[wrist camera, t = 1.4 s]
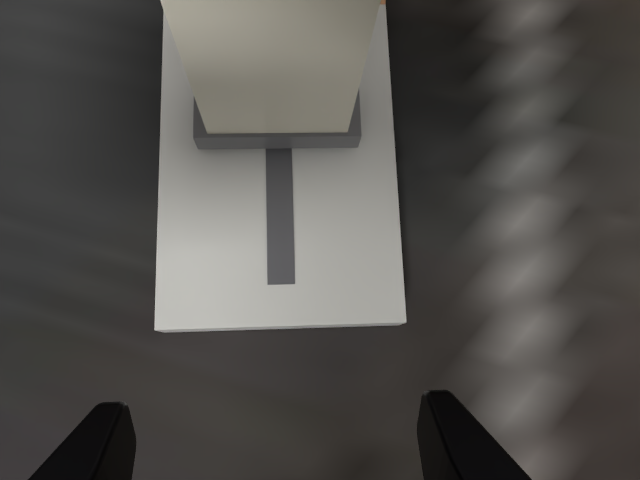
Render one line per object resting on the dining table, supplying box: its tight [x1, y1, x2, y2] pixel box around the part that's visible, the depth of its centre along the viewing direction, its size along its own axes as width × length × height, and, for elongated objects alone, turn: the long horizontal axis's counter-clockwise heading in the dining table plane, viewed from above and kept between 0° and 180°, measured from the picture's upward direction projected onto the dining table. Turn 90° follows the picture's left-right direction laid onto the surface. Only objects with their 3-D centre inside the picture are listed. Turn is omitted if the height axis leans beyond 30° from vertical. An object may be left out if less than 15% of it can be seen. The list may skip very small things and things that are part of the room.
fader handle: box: [160, 0, 381, 149], centre depth 16 cm, size 3×6×11 cm, turn 91°
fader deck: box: [154, 0, 406, 332], centre depth 22 cm, size 15×9×2 cm, turn 2°
